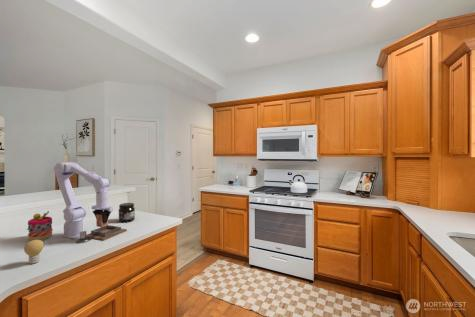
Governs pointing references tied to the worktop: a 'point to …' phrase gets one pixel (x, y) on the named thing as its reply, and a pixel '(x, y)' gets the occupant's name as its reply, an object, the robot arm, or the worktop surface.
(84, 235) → the metal door knob
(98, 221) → the plug block
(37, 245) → the light bulb
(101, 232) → the holder board
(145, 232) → the worktop surface
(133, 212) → the supplement container
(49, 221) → the cake
